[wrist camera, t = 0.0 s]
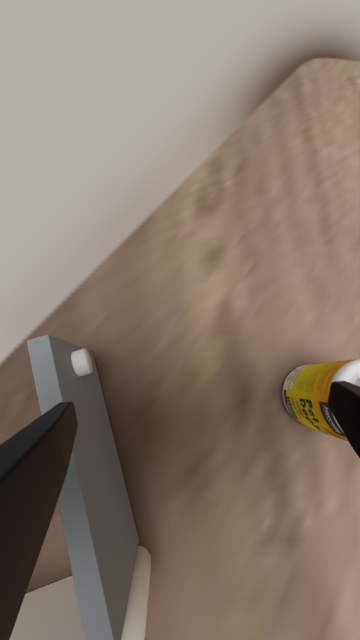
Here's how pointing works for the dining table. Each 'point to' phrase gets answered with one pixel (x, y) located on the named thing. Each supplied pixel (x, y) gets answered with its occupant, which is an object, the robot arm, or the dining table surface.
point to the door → (90, 488)
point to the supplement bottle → (317, 393)
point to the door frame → (63, 610)
